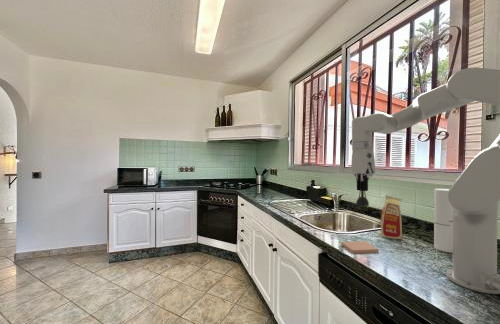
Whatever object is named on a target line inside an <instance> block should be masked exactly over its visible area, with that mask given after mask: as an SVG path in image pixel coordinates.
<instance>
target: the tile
mask: <svg viewBox="0 0 500 324" xmlns="http://www.w3.org/2000/svg"><path fill="white" fill-rule="evenodd" d="M340 244H341V246H342V247H343V246H344V247H343V248H344V249H346V250H347V249H348V250H349V252H350V251H351V252H352V253H356V254H373V253H374V254H376V253H377V254H378V253H379V248H377V247H375V246H374V245H372V244H370V243H369V242H367V241H366V240H360V241H357V240H356V241H341V242H340ZM348 250H347V251H348ZM351 252H350V253H351ZM352 253H351V254H352Z"/></svg>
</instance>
